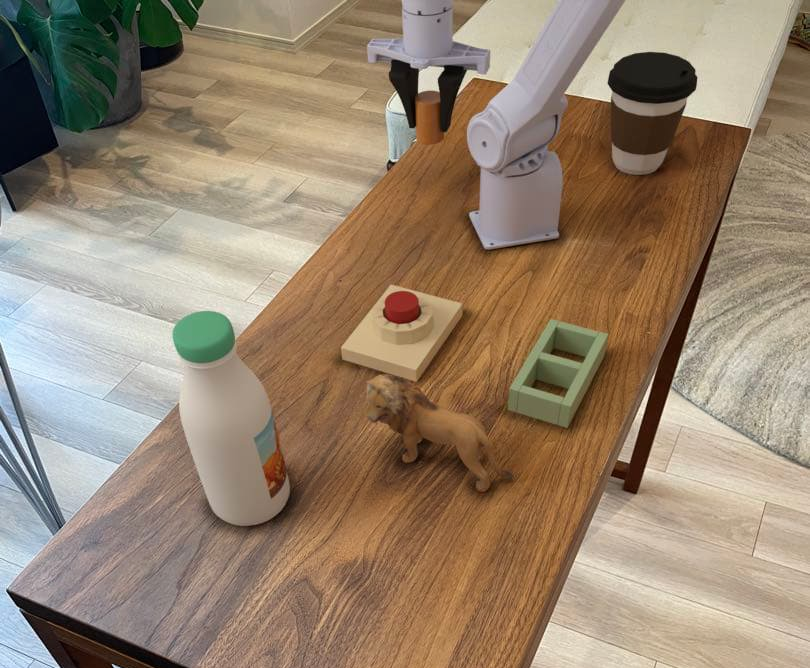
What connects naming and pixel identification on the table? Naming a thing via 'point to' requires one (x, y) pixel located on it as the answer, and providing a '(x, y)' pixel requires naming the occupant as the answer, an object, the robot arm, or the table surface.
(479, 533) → the table surface
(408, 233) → the table surface
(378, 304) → the box
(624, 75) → the coffee cup
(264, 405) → the milk bottle
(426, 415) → the lion figurine
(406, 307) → the button
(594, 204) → the table surface
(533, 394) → the pod holder
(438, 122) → the cylinder
